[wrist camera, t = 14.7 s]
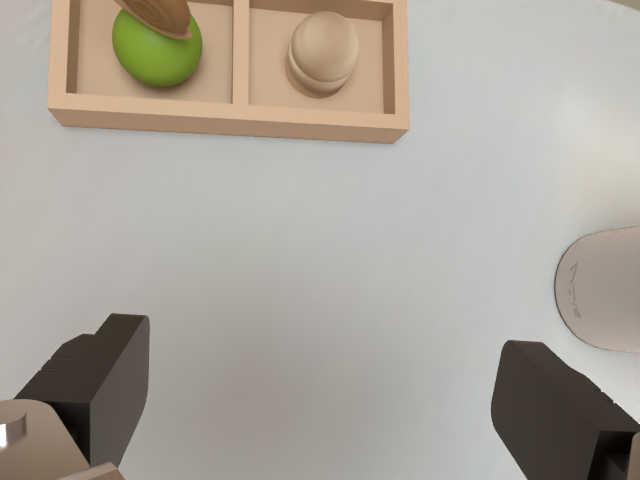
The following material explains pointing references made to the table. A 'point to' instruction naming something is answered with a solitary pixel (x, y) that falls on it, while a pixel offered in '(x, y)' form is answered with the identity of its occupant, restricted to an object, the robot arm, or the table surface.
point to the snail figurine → (157, 41)
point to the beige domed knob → (321, 54)
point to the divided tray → (234, 73)
